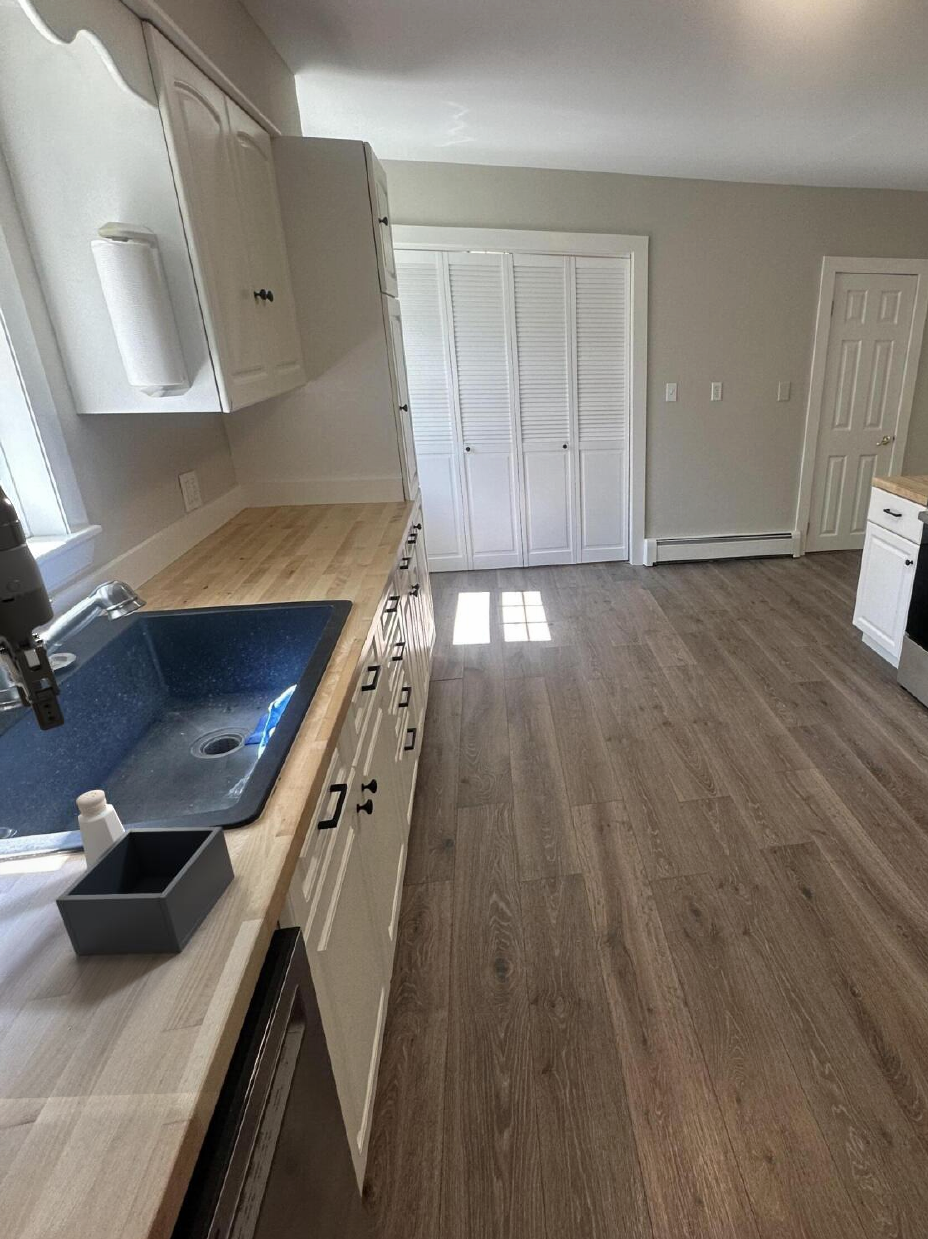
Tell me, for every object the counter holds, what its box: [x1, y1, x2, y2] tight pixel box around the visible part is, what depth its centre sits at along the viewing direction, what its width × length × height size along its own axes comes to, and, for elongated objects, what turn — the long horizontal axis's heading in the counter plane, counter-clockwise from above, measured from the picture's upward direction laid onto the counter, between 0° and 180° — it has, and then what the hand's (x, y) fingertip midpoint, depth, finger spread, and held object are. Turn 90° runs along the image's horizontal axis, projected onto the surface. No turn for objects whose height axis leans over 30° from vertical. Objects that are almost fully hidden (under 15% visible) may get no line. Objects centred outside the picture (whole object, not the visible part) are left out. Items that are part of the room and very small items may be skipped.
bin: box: [55, 826, 236, 956], centre depth 77 cm, size 11×11×8 cm
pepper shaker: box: [75, 789, 126, 870], centre depth 83 cm, size 5×5×11 cm
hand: (43, 715), depth 78 cm, fingers open, 8 cm apart
